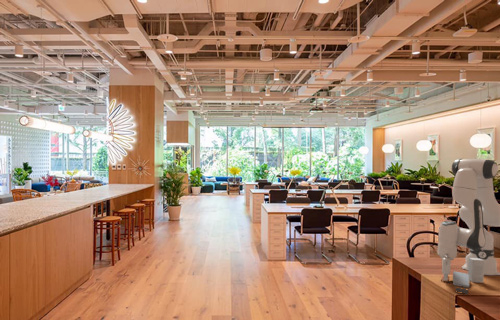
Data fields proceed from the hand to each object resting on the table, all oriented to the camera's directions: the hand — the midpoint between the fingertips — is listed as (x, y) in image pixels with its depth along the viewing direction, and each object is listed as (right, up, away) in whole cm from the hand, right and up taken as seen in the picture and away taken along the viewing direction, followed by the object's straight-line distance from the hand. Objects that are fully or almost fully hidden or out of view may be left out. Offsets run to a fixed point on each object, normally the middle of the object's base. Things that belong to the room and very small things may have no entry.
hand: (445, 278), depth 184 cm
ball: (0, -2, 0) cm, 2 cm away
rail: (-1, -2, -16) cm, 17 cm away
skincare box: (+18, -3, +4) cm, 19 cm away
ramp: (+7, -2, -2) cm, 7 cm away
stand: (0, -2, 0) cm, 2 cm away
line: (+2, -2, -9) cm, 10 cm away
